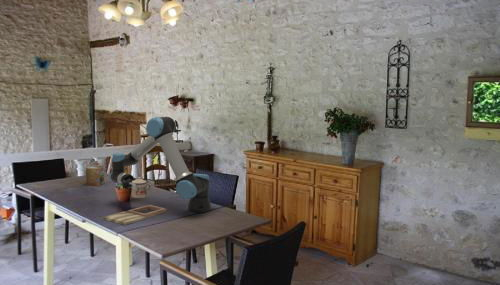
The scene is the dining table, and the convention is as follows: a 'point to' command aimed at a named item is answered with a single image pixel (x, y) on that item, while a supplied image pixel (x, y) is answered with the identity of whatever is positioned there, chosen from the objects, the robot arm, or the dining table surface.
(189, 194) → the robot arm
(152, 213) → the wooden picture frame
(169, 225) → the dining table surface
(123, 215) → the ash board
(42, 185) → the dining table surface
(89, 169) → the milk carton
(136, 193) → the teacup with lid
